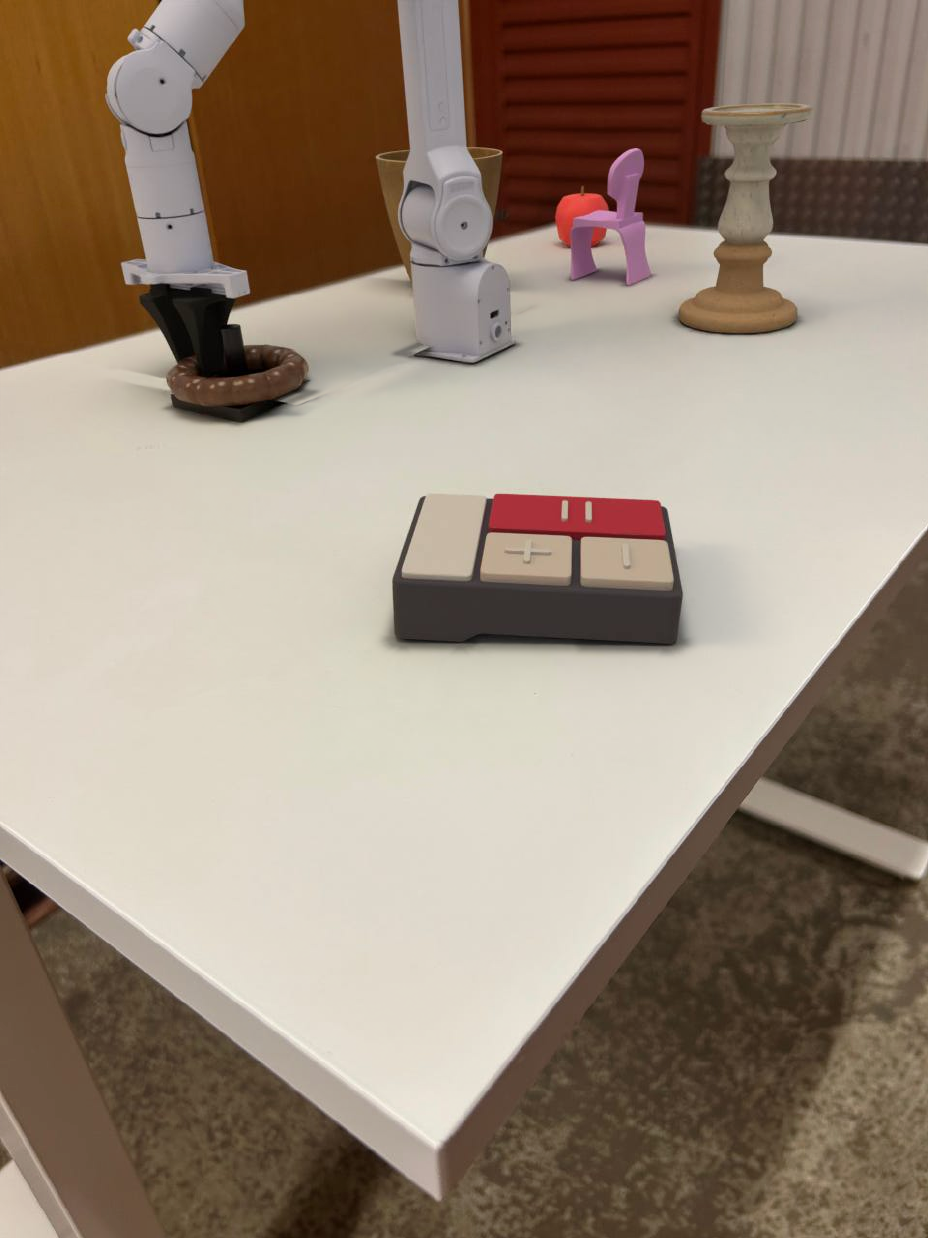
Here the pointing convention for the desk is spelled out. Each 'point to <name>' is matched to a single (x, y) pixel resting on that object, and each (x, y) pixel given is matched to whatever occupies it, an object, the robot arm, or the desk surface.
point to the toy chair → (615, 221)
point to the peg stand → (235, 369)
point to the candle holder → (745, 225)
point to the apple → (579, 214)
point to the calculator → (538, 569)
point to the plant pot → (394, 185)
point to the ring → (240, 378)
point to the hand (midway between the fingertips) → (201, 368)
